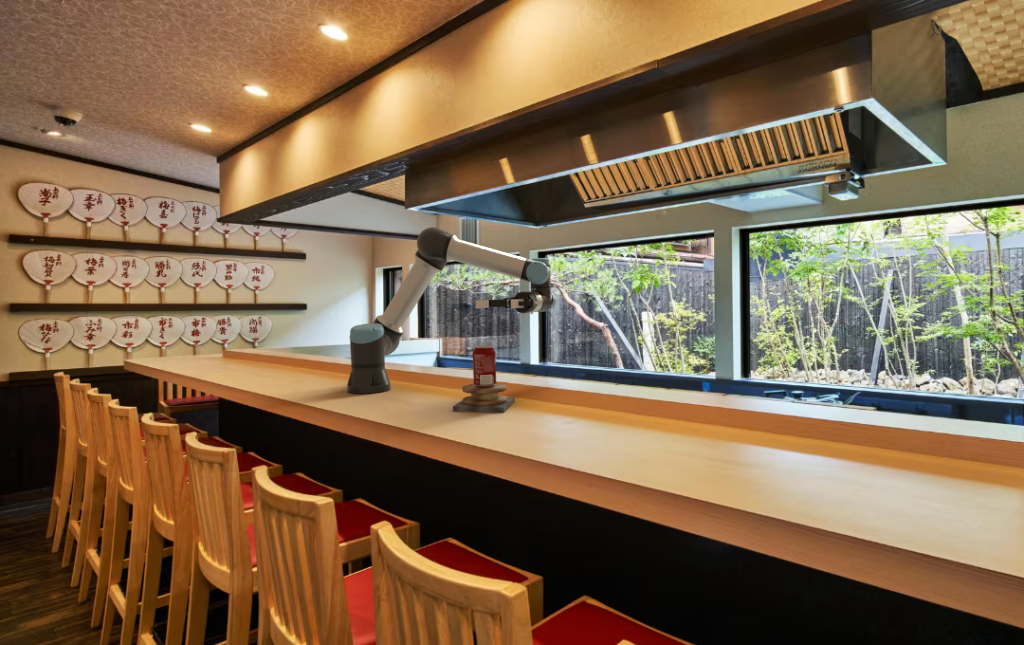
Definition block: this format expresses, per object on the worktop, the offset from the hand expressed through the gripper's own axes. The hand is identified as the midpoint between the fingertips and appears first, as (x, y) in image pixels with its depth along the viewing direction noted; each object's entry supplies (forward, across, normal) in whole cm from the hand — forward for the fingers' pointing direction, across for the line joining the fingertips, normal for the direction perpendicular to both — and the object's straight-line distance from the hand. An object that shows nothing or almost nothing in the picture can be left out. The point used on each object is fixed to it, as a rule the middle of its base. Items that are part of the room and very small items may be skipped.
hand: (493, 304), depth 180 cm
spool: (+14, -5, -30) cm, 34 cm away
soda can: (+14, -5, -24) cm, 28 cm away
